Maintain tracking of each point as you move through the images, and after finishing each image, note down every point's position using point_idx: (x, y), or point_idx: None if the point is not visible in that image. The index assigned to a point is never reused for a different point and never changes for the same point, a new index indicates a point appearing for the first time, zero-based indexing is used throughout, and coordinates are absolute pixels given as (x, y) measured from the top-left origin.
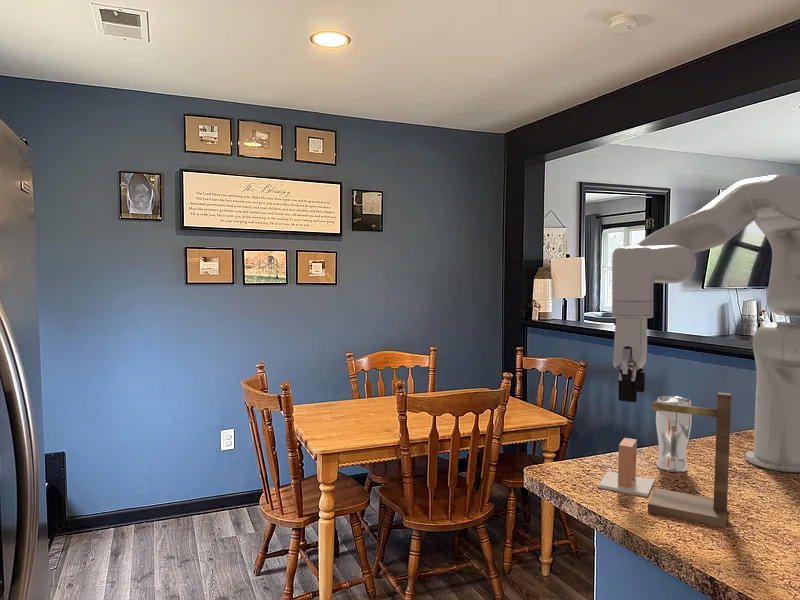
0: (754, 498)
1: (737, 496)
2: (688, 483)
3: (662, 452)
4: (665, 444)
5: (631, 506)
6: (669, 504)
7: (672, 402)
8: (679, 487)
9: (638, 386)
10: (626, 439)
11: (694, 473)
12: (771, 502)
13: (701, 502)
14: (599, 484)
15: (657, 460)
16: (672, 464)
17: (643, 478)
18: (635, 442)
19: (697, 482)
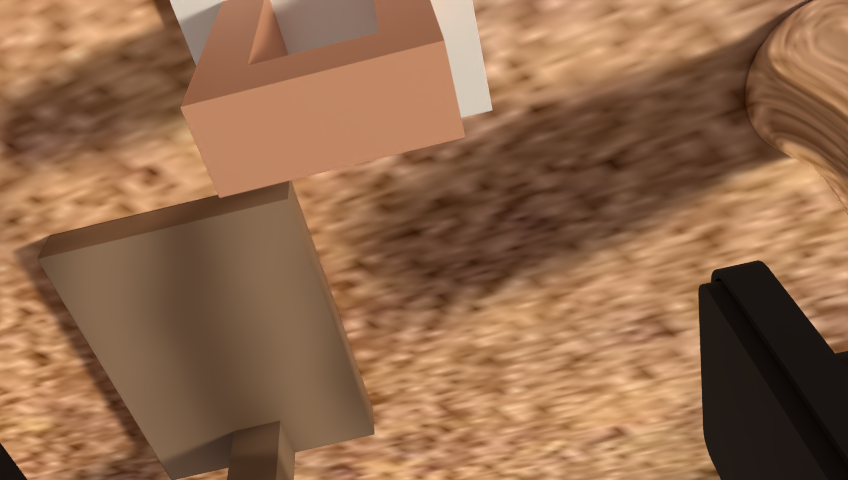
0: (579, 428)
1: (559, 390)
2: (599, 220)
3: (828, 80)
4: (842, 129)
5: (44, 159)
6: (122, 319)
7: None
8: (507, 212)
9: (731, 455)
10: (401, 77)
11: (785, 188)
12: (573, 468)
13: (271, 385)
14: None
15: (833, 12)
16: (769, 120)
17: (468, 59)
18: (390, 152)
19: (643, 241)
